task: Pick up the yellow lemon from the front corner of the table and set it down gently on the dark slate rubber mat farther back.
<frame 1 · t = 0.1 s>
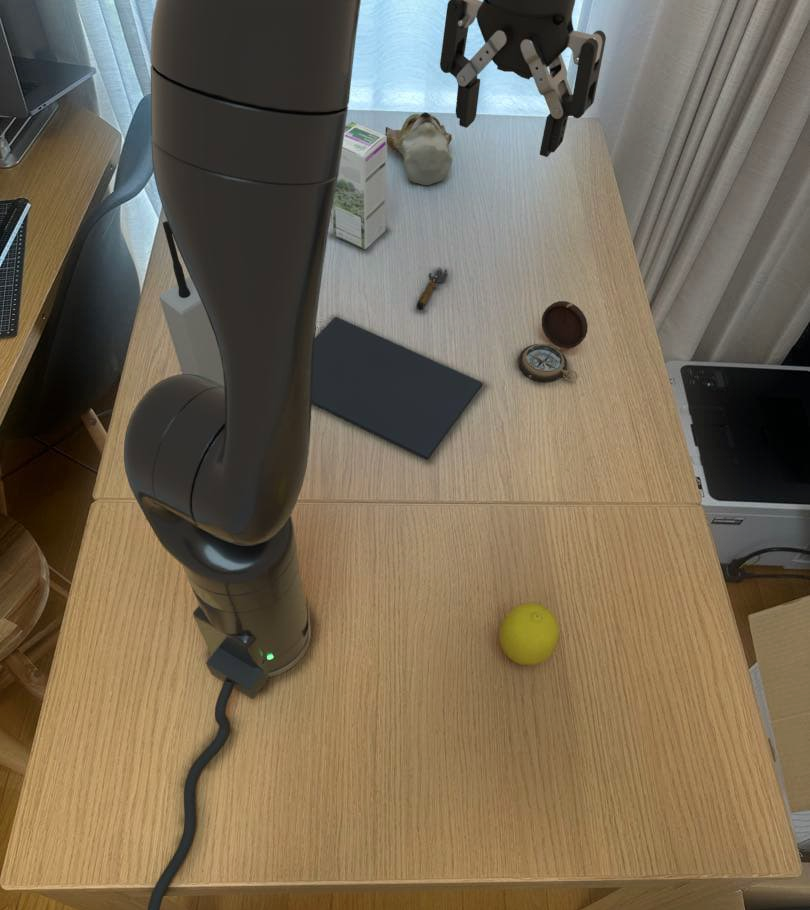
hand: (506, 137, 71), 29 cm above the table, tool pointing down, fingers open, 8 cm apart
ceramic sculpture: (421, 167, 118), on the table
lemon: (521, 651, 75), on the table
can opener: (431, 291, 102), on the table
compass: (551, 367, 96), on the table
syrup box: (359, 235, 108), on the table
mat: (378, 385, 93), on the table
vintage mobile phone: (218, 403, 90), on the table
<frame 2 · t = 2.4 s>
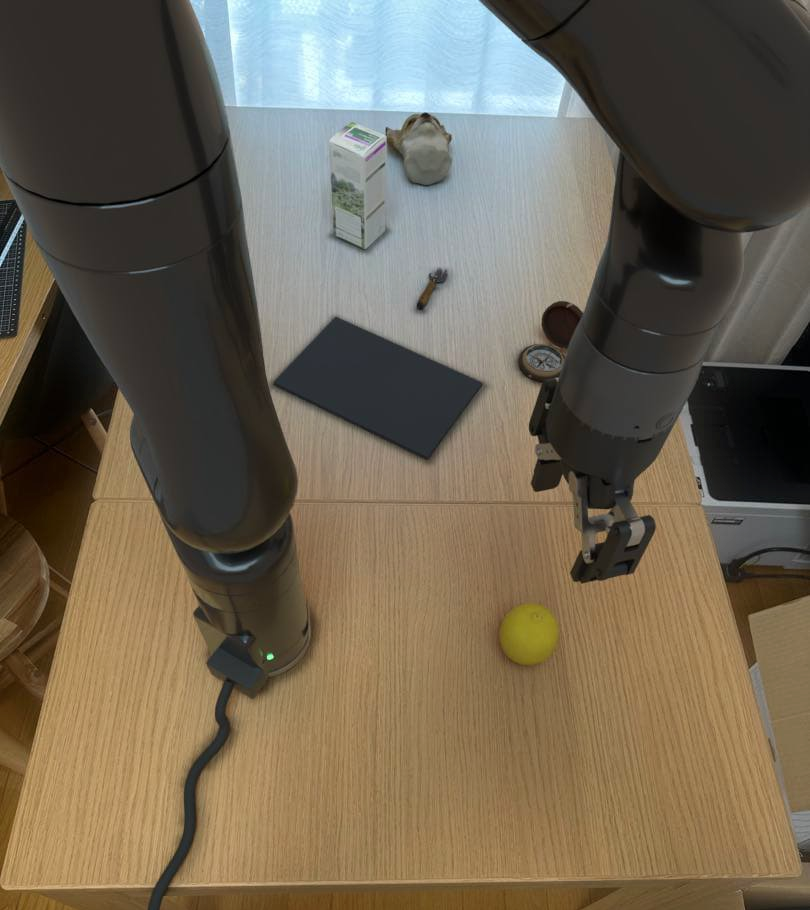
hand: (563, 530, 58), 20 cm above the table, tool pointing down, fingers open, 8 cm apart
nothing on the table moved.
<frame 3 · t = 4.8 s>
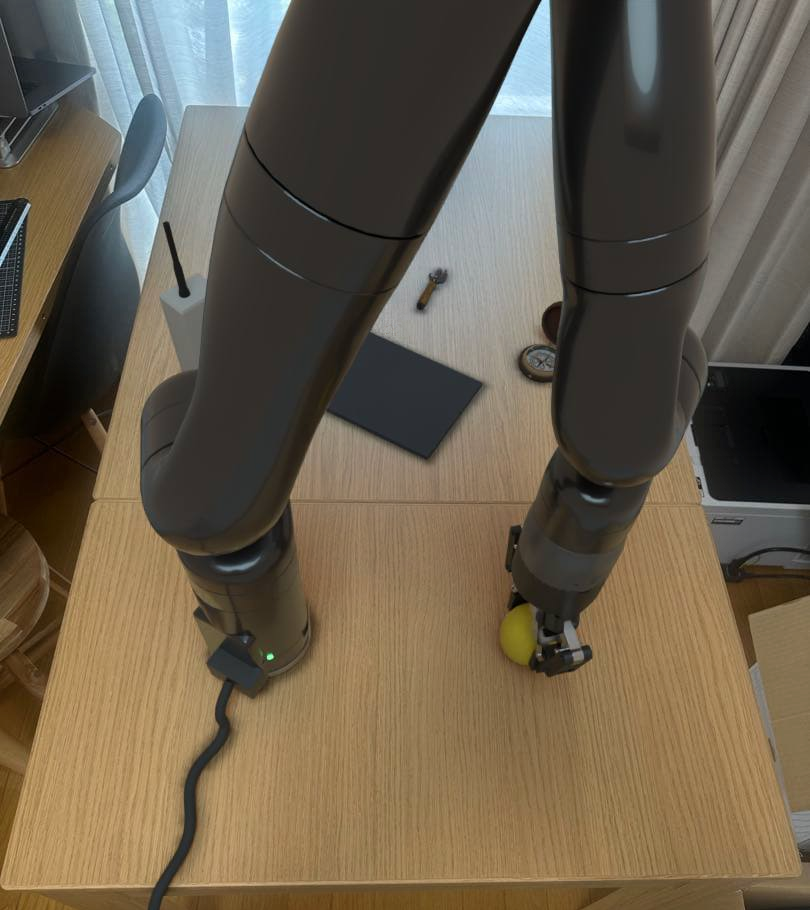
hand: (528, 636, 71), 4 cm above the table, tool pointing down, fingers closed on lemon, 5 cm apart
lemon: (521, 651, 75), on the table, touching gripper
everything else where it was.
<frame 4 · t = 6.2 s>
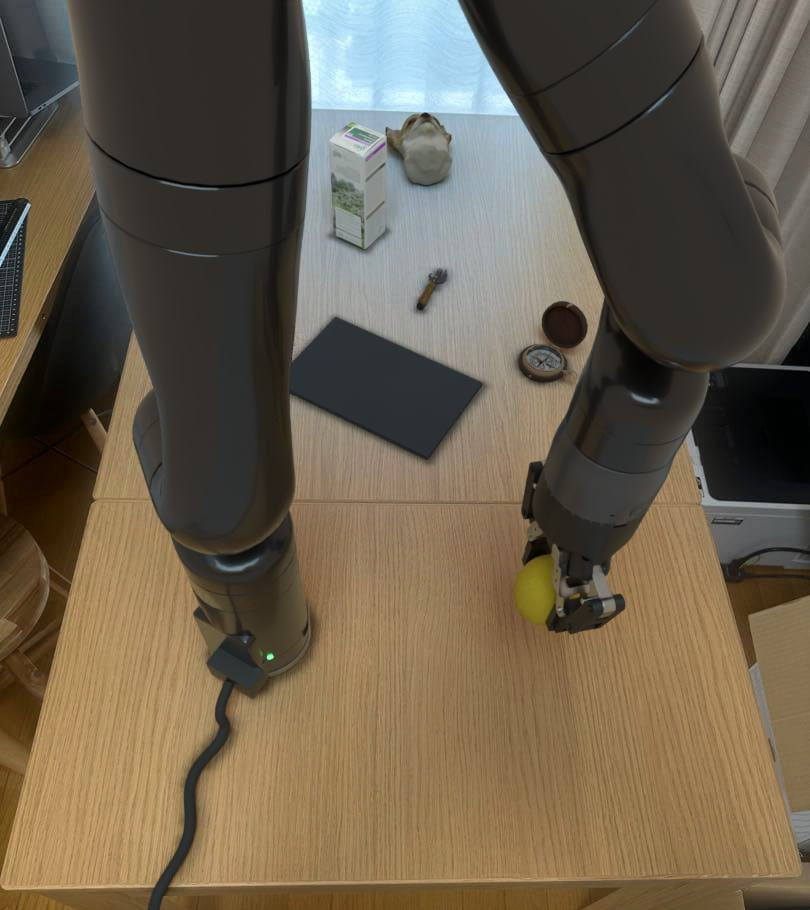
hand: (545, 593, 63), 13 cm above the table, tool pointing down, fingers closed on lemon, 5 cm apart
lemon: (536, 613, 66), point 9 cm above the table, touching gripper
everything else where it was.
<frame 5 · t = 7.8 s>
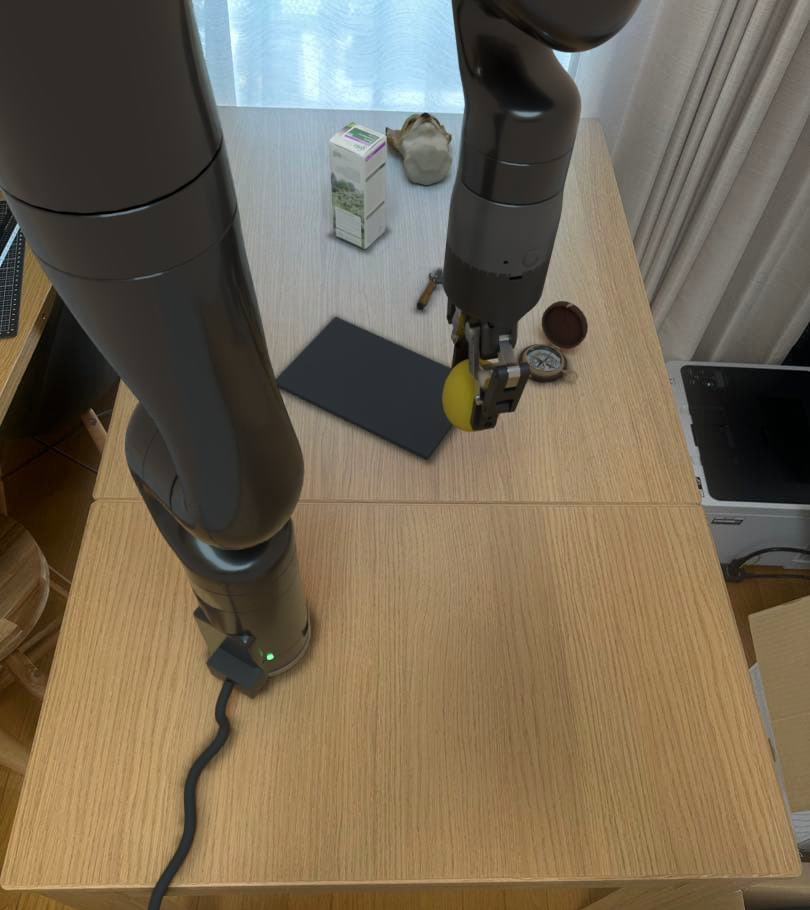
hand: (472, 400, 66), 20 cm above the table, tool pointing down, fingers closed on lemon, 5 cm apart
lemon: (468, 427, 69), point 16 cm above the table, touching gripper
everything else where it was.
when the fingers open (4 cm above the table, at t = 13.3 s): lemon stays where it is, resting on mat.
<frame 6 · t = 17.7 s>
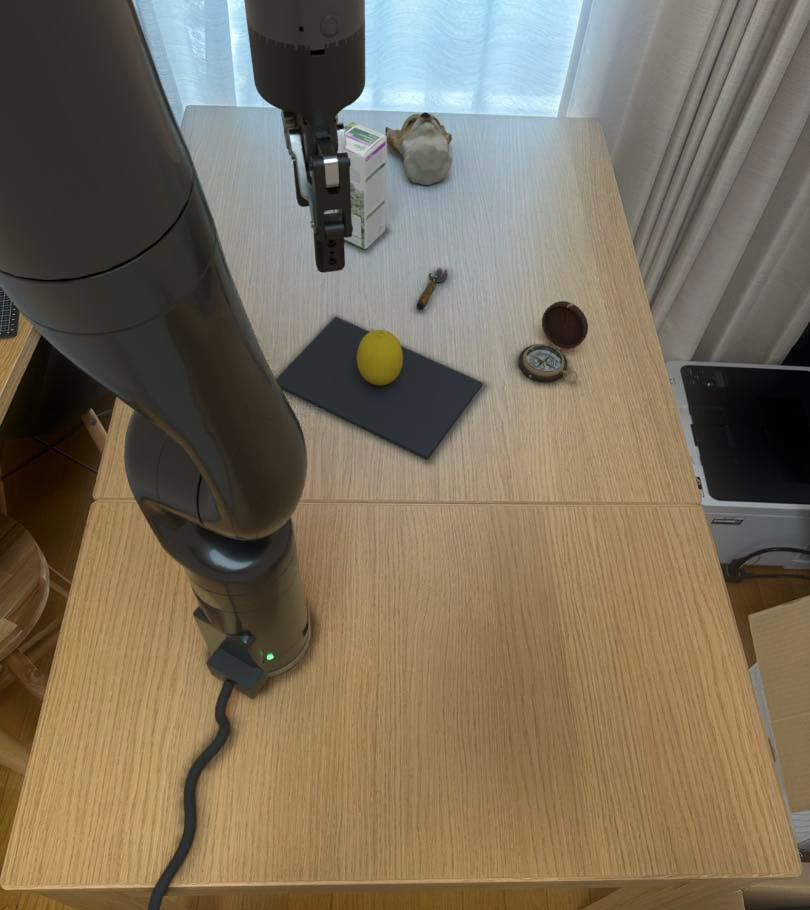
hand: (320, 235, 61), 30 cm above the table, tool pointing down, fingers open, 8 cm apart
lemon: (379, 383, 92), resting on mat
everything else where it was.
at the end: lemon inside the target area on the mat (0.1 cm from its centre), point 0.4 cm above the mat's base; lemon touching mat; the gripper is holding nothing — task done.
